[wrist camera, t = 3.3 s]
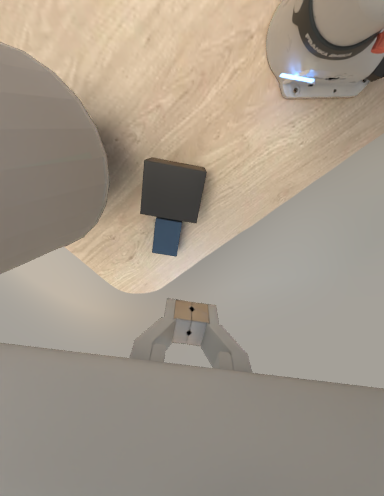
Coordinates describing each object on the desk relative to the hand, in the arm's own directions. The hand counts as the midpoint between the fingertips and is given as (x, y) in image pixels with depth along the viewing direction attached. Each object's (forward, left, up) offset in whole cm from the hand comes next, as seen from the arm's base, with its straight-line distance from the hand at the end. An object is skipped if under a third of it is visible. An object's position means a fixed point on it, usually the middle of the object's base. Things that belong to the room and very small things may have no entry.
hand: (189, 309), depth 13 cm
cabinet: (+4, +1, -43) cm, 43 cm away
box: (+4, +13, -43) cm, 45 cm away
